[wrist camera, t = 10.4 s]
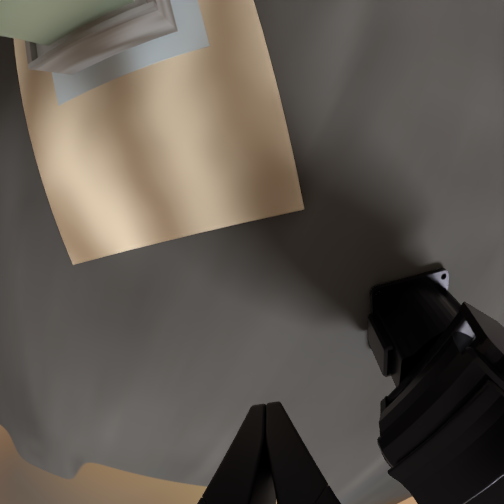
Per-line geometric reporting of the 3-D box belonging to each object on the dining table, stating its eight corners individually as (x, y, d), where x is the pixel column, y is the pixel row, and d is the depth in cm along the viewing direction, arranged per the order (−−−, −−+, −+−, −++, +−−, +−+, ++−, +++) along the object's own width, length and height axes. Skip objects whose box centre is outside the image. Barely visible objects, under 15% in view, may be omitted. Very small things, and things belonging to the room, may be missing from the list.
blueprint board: (225, -79, 12) (217, -126, 6) (302, 205, 19) (319, 238, 14) (19, 11, 13) (-29, -2, 8) (79, 258, 21) (39, 298, 16)
